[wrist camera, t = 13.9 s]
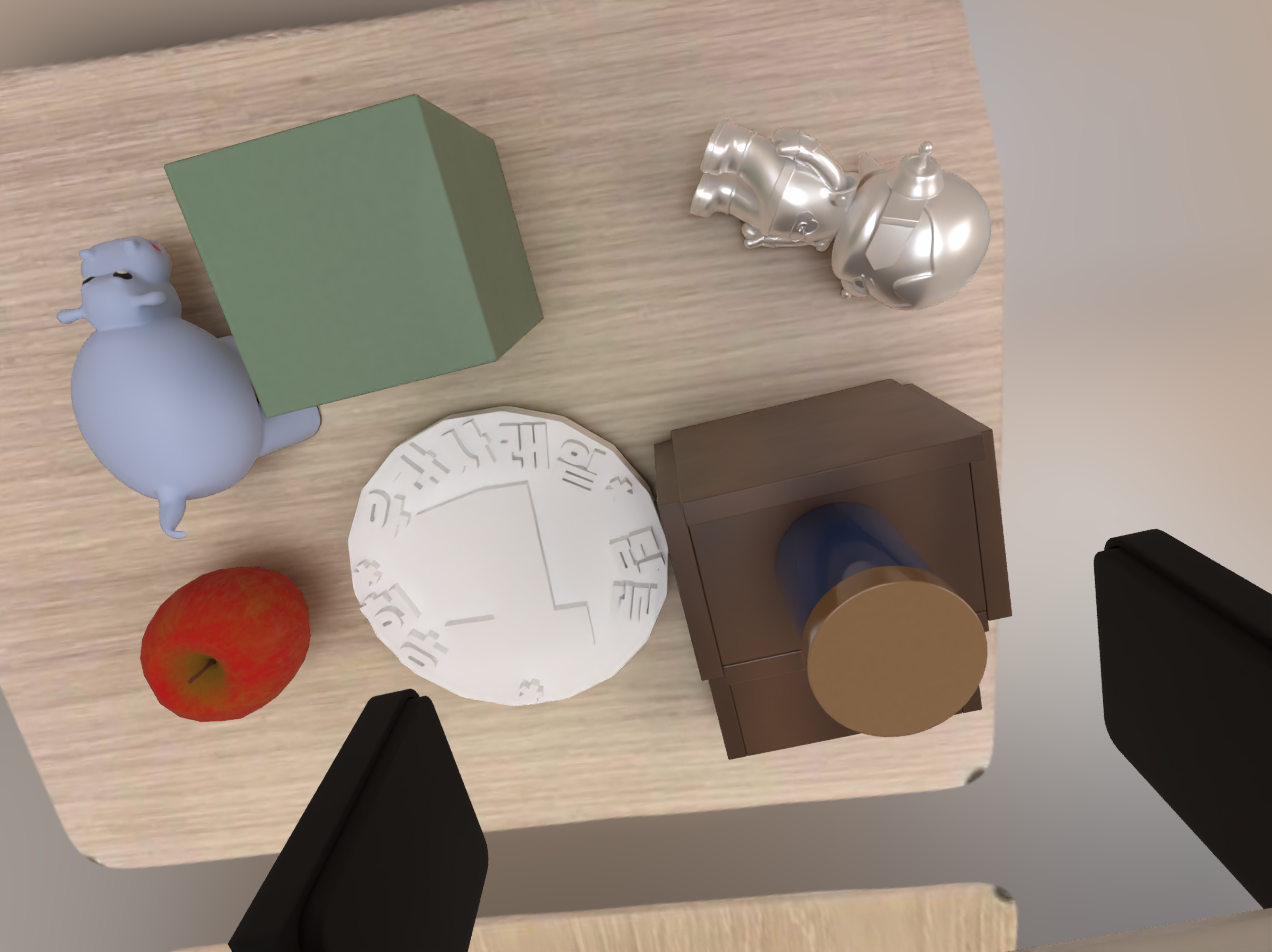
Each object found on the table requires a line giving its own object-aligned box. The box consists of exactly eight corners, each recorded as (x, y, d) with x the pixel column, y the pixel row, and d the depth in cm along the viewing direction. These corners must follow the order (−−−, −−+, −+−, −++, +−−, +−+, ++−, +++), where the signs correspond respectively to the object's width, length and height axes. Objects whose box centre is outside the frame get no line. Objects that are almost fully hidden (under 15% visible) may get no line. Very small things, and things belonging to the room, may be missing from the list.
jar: (898, 483, 36) (978, 563, 28) (917, 608, 38) (996, 718, 30) (758, 515, 37) (792, 603, 28) (783, 636, 39) (823, 752, 30)
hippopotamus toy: (257, 219, 43) (155, 216, 34) (339, 467, 48) (268, 523, 39) (80, 257, 44) (-66, 264, 35) (177, 497, 48) (70, 559, 39)
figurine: (706, 110, 34) (1027, 236, 33) (758, 25, 37) (1050, 136, 36) (667, 275, 43) (916, 378, 42) (712, 194, 47) (943, 287, 45)
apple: (326, 665, 52) (249, 772, 42) (203, 625, 51) (93, 725, 41) (357, 558, 50) (283, 644, 39) (229, 514, 49) (118, 591, 38)
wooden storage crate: (911, 373, 46) (1011, 427, 33) (951, 665, 52) (1048, 802, 39) (651, 435, 47) (655, 509, 34) (721, 712, 53) (744, 859, 41)
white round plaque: (350, 658, 52) (333, 682, 49) (372, 377, 46) (355, 387, 43) (637, 706, 53) (637, 732, 50) (697, 437, 47) (700, 450, 44)
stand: (493, 139, 42) (416, 93, 27) (543, 318, 45) (497, 361, 30) (322, 186, 43) (161, 165, 28) (383, 359, 46) (265, 419, 31)
